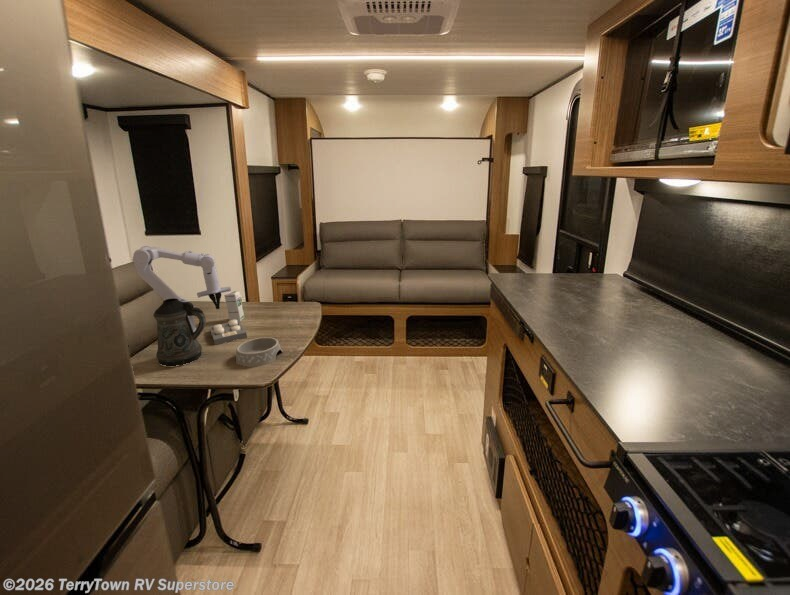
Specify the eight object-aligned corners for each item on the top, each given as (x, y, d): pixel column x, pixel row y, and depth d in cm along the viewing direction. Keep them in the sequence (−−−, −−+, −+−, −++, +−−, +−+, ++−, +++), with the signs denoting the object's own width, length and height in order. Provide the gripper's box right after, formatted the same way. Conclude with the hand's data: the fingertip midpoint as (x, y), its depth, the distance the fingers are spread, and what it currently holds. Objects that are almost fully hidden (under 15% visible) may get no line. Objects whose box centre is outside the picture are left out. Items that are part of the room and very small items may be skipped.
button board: (215, 344, 177) (213, 339, 176) (210, 331, 193) (209, 325, 192) (247, 337, 183) (246, 331, 183) (239, 325, 199) (238, 319, 198)
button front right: (232, 335, 185) (231, 329, 185) (231, 332, 189) (230, 326, 188) (241, 332, 187) (240, 327, 186) (240, 330, 191) (239, 324, 190)
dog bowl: (228, 367, 157) (225, 354, 155) (250, 347, 174) (248, 335, 172) (269, 367, 154) (267, 355, 153) (288, 347, 171) (286, 335, 170)
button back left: (214, 333, 188) (213, 328, 187) (213, 331, 191) (212, 325, 191) (223, 331, 190) (222, 326, 189) (222, 329, 193) (221, 323, 192)
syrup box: (240, 321, 204) (235, 294, 200) (229, 322, 204) (224, 294, 200) (245, 317, 210) (240, 290, 205) (233, 318, 210) (228, 291, 205)
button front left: (215, 337, 182) (214, 331, 181) (214, 334, 185) (213, 328, 184) (225, 334, 184) (224, 329, 183) (224, 332, 187) (223, 326, 186)
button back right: (230, 328, 191) (228, 323, 190) (228, 326, 194) (227, 320, 194) (238, 326, 193) (237, 321, 192) (237, 324, 196) (236, 318, 195)
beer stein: (154, 358, 167) (139, 300, 159) (203, 344, 179) (192, 289, 171) (163, 372, 155) (147, 310, 147) (215, 355, 166) (203, 297, 159)
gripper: (195, 285, 181) (202, 314, 186) (229, 279, 188) (235, 307, 192) (194, 282, 187) (200, 310, 192) (227, 276, 194) (232, 303, 198)
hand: (217, 308), depth 192 cm, fingers closed
